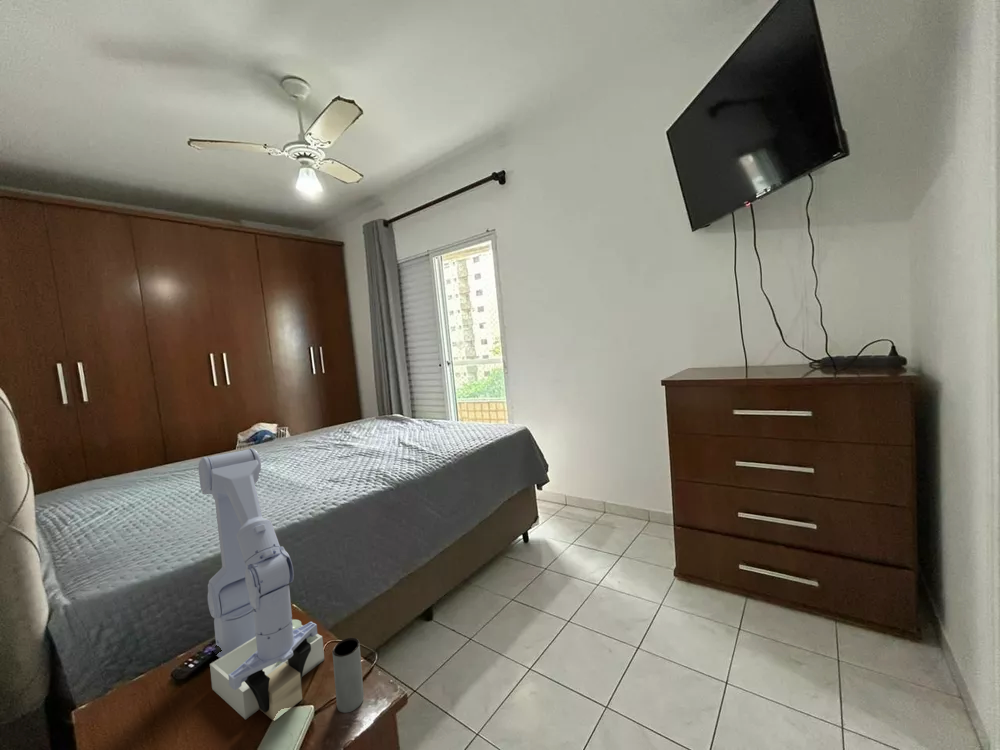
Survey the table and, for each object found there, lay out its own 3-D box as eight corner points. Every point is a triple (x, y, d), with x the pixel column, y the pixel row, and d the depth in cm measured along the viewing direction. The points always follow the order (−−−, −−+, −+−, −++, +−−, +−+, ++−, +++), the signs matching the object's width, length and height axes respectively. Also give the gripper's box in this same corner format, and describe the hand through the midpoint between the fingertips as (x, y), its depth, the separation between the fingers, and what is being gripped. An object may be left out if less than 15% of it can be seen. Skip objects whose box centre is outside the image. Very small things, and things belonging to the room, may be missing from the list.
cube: (259, 709, 69) (257, 682, 69) (287, 688, 73) (285, 662, 73) (274, 721, 66) (271, 693, 66) (302, 699, 71) (300, 672, 70)
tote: (212, 689, 74) (209, 664, 74) (289, 638, 87) (287, 617, 86) (245, 719, 67) (242, 692, 67) (324, 659, 80) (322, 636, 80)
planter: (354, 714, 67) (350, 657, 66) (331, 711, 68) (326, 655, 67) (368, 692, 71) (364, 638, 71) (346, 689, 72) (342, 636, 72)
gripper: (240, 660, 61) (248, 742, 61) (324, 607, 73) (330, 675, 74) (219, 644, 65) (227, 722, 65) (303, 596, 77) (308, 662, 77)
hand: (280, 696), depth 70 cm, fingers closed on cube, 5 cm apart
